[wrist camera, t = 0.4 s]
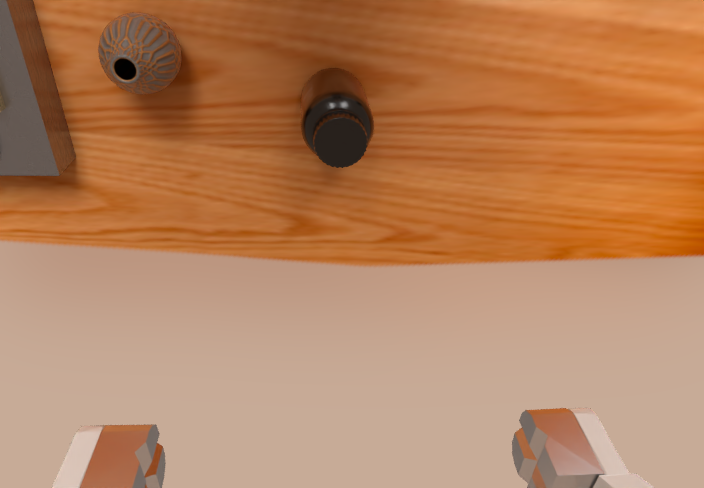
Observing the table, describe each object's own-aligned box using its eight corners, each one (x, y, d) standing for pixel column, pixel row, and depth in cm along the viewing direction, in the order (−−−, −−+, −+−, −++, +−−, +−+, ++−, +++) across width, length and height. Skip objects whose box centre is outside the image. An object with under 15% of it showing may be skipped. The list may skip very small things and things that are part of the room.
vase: (201, 60, 52) (184, 87, 44) (145, 92, 53) (119, 123, 46) (157, -8, 48) (130, 9, 41) (98, 28, 49) (62, 51, 42)
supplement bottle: (325, 141, 57) (329, 192, 47) (287, 91, 54) (283, 135, 44) (377, 106, 55) (392, 152, 46) (342, 52, 52) (350, 89, 42)
